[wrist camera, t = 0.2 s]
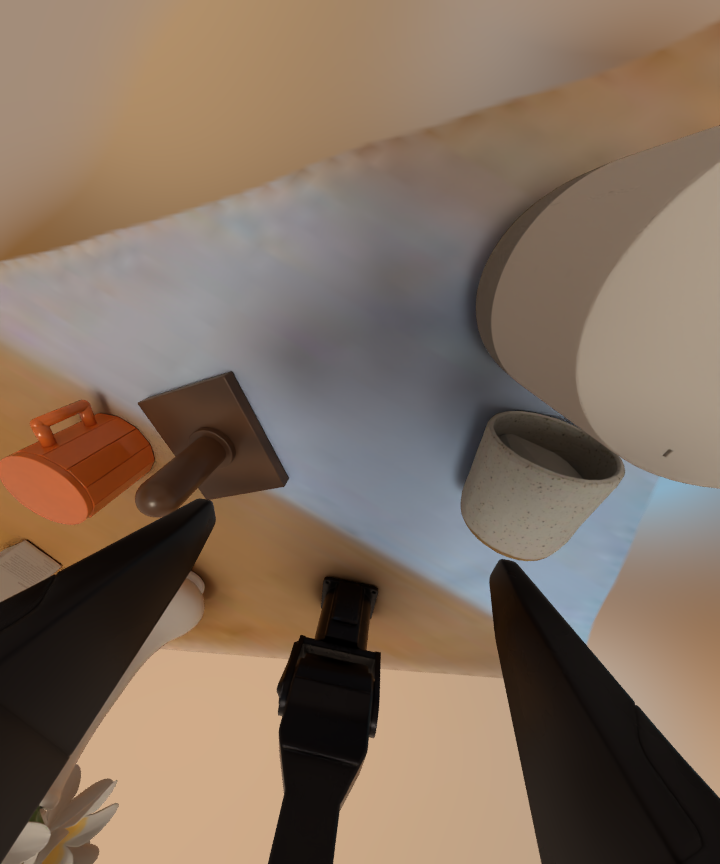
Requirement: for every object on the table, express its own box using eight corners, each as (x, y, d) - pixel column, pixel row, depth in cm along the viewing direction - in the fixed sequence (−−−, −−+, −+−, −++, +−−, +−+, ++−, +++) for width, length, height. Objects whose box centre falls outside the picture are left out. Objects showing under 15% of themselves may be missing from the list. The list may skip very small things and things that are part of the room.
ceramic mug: (449, 487, 25) (466, 565, 19) (476, 403, 21) (511, 465, 15) (573, 506, 25) (635, 594, 18) (626, 423, 21) (732, 497, 14)
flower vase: (167, 613, 45) (-53, 929, 24) (118, 530, 36) (-314, 924, 14) (246, 626, 43) (87, 977, 22) (215, 542, 34) (-107, 1006, 13)
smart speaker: (521, 159, 15) (1027, -316, 3) (687, 220, 15) (1833, 31, 3) (441, 340, 20) (496, 457, 8) (568, 384, 20) (816, 566, 8)
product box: (26, 538, 40) (-45, 589, 34) (64, 565, 42) (3, 618, 36) (6, 547, 42) (-65, 597, 36) (42, 573, 44) (-18, 624, 38)
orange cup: (160, 479, 30) (99, 532, 24) (99, 467, 31) (23, 515, 25) (137, 398, 26) (53, 439, 20) (64, 385, 26) (-39, 421, 20)
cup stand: (289, 478, 28) (243, 560, 20) (213, 492, 30) (146, 570, 22) (232, 370, 23) (142, 423, 15) (147, 397, 25) (33, 454, 18)
